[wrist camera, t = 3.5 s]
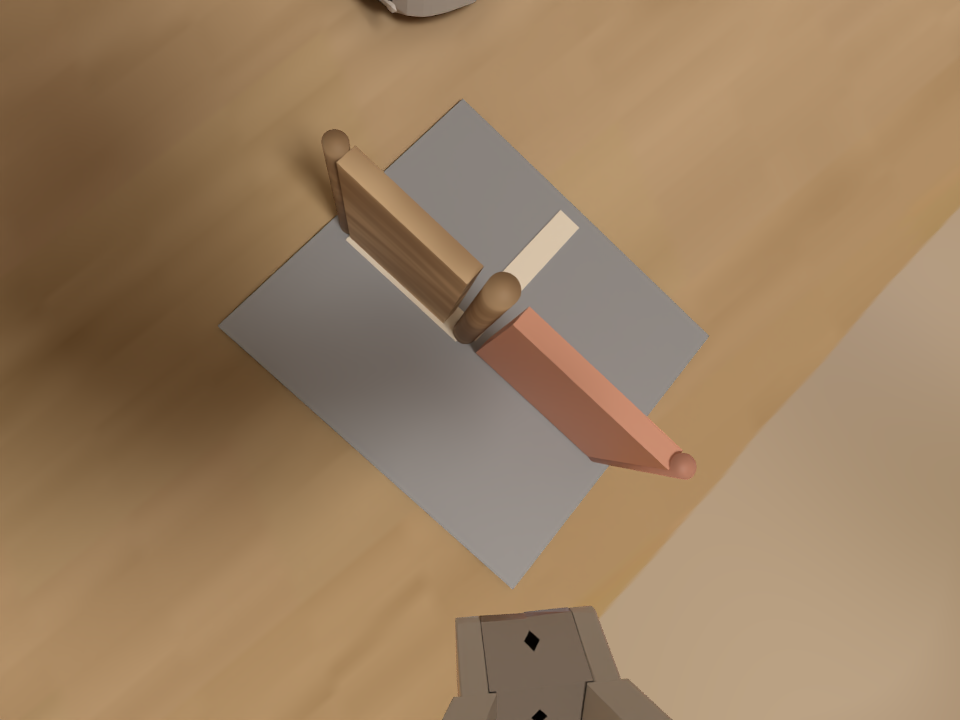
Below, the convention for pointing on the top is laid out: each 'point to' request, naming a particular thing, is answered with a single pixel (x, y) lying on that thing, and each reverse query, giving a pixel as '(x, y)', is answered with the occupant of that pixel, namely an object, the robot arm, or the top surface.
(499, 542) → the board
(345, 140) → the fence fixed
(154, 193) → the top surface
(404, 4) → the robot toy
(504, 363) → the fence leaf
